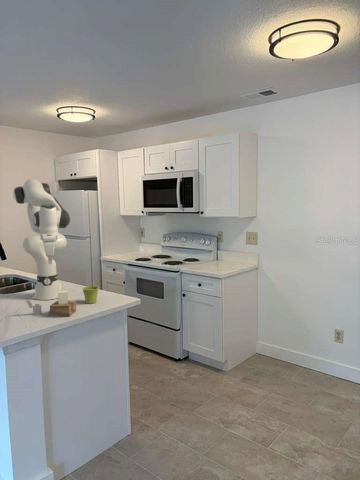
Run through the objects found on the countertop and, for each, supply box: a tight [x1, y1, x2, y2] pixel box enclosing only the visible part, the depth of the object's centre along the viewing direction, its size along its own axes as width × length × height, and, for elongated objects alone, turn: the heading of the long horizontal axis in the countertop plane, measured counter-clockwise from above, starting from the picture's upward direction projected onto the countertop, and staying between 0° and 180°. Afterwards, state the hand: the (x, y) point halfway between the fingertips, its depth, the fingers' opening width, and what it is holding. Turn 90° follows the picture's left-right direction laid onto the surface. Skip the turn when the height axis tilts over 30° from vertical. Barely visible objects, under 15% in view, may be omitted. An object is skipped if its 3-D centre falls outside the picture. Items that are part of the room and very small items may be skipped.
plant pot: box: [81, 285, 100, 305], centre depth 208 cm, size 9×9×9 cm
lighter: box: [25, 299, 43, 316], centre depth 188 cm, size 7×2×8 cm, turn 111°
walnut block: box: [49, 300, 77, 318], centre depth 188 cm, size 10×10×6 cm
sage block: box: [57, 289, 69, 304], centre depth 188 cm, size 4×4×6 cm
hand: (50, 262), depth 188 cm, fingers open, 8 cm apart
